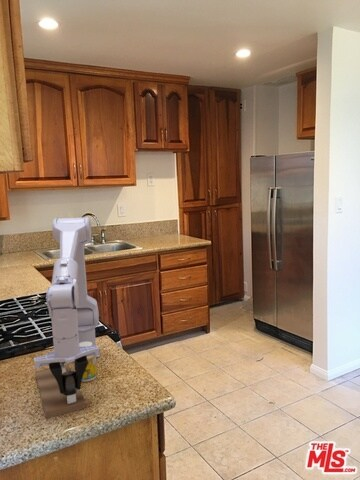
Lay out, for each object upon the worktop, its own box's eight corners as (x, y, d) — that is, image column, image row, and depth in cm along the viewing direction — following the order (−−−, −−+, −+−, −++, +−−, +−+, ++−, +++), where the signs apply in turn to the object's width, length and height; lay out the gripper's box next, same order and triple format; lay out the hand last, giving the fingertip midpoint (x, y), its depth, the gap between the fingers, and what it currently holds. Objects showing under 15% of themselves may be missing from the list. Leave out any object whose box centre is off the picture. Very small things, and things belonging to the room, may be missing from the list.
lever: (51, 368, 109) (49, 346, 108) (64, 365, 110) (63, 343, 109) (64, 405, 91) (62, 378, 90) (79, 401, 92) (77, 375, 91)
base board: (35, 376, 108) (35, 371, 108) (68, 369, 112) (68, 364, 112) (45, 418, 89) (45, 412, 88) (85, 407, 92) (85, 401, 92)
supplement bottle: (100, 373, 109) (98, 340, 108) (92, 383, 104) (90, 348, 102) (81, 372, 110) (79, 339, 109) (73, 381, 105) (71, 347, 103)
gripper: (34, 347, 84) (39, 406, 86) (101, 334, 90) (104, 389, 92) (31, 336, 90) (36, 391, 92) (93, 324, 96) (97, 376, 98)
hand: (69, 389), depth 92 cm, fingers closed on lever, 3 cm apart
